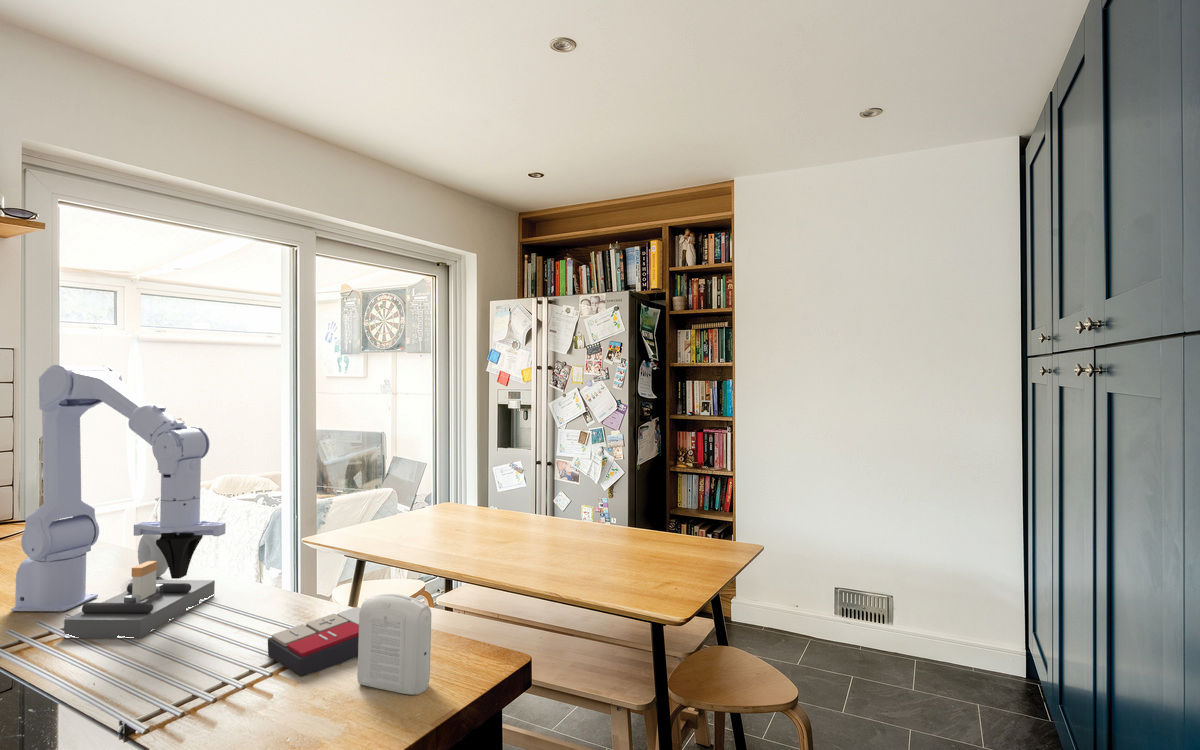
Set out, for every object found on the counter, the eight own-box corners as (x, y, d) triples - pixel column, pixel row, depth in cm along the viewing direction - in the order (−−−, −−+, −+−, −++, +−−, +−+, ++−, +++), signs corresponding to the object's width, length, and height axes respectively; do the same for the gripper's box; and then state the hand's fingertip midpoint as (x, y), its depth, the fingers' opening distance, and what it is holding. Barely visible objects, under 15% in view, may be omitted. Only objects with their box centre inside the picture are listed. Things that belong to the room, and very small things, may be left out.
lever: (131, 603, 106) (131, 567, 106) (147, 595, 110) (148, 561, 110) (140, 603, 106) (141, 567, 106) (156, 595, 110) (157, 561, 110)
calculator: (266, 633, 95) (358, 602, 107) (267, 661, 95) (359, 627, 107) (300, 654, 88) (394, 618, 100) (301, 684, 88) (395, 645, 100)
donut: (173, 579, 129) (174, 531, 130) (154, 584, 127) (155, 534, 127) (153, 571, 135) (154, 524, 135) (134, 574, 132) (135, 527, 132)
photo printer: (435, 684, 87) (436, 594, 87) (417, 699, 83) (418, 605, 83) (372, 672, 90) (373, 586, 90) (352, 686, 86) (353, 595, 86)
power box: (63, 638, 100) (64, 607, 100) (150, 595, 120) (151, 569, 120) (140, 638, 100) (140, 607, 100) (214, 595, 120) (214, 569, 120)
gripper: (120, 502, 104) (119, 584, 104) (209, 503, 105) (207, 584, 105) (150, 494, 111) (148, 571, 111) (232, 495, 112) (231, 571, 112)
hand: (179, 576), depth 108 cm, fingers closed
